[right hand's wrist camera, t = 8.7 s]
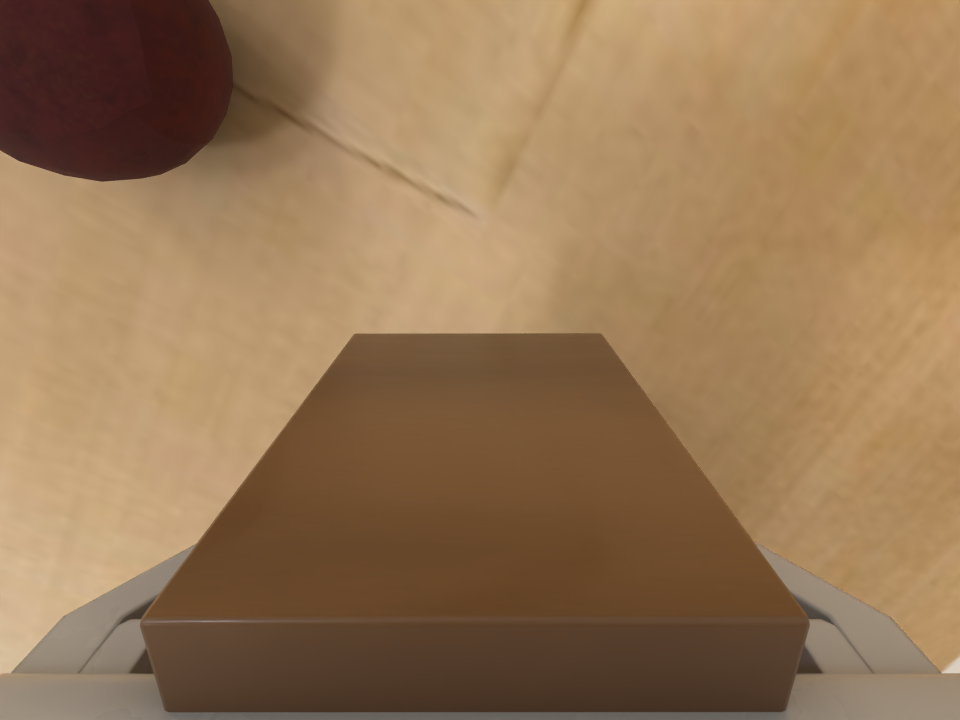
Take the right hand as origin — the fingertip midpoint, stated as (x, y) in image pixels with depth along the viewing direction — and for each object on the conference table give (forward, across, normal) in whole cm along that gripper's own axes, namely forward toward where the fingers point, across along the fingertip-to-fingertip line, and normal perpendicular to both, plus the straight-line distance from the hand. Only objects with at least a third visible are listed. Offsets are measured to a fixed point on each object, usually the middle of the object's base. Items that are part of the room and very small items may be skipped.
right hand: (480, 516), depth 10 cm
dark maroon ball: (+12, -11, +10) cm, 19 cm away
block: (+3, 0, -8) cm, 9 cm away
